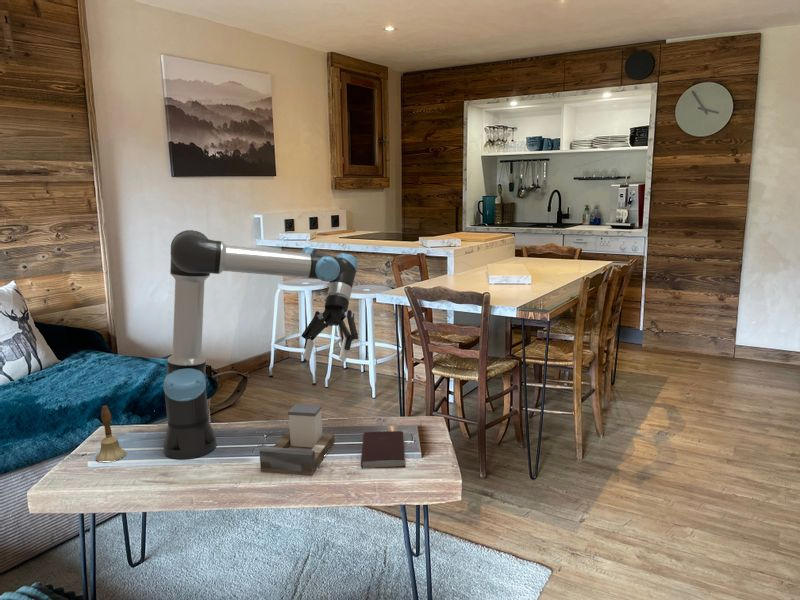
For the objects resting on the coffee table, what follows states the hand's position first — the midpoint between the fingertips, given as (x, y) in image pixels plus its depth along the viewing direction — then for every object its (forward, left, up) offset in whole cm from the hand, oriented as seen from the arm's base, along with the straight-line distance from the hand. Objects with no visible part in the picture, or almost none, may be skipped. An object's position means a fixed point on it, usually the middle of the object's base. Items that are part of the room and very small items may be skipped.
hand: (323, 359), depth 194 cm
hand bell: (-11, -63, -24) cm, 69 cm away
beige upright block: (+9, -9, -22) cm, 26 cm away
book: (+23, +10, -24) cm, 35 cm away
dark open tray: (+14, -13, -24) cm, 31 cm away
